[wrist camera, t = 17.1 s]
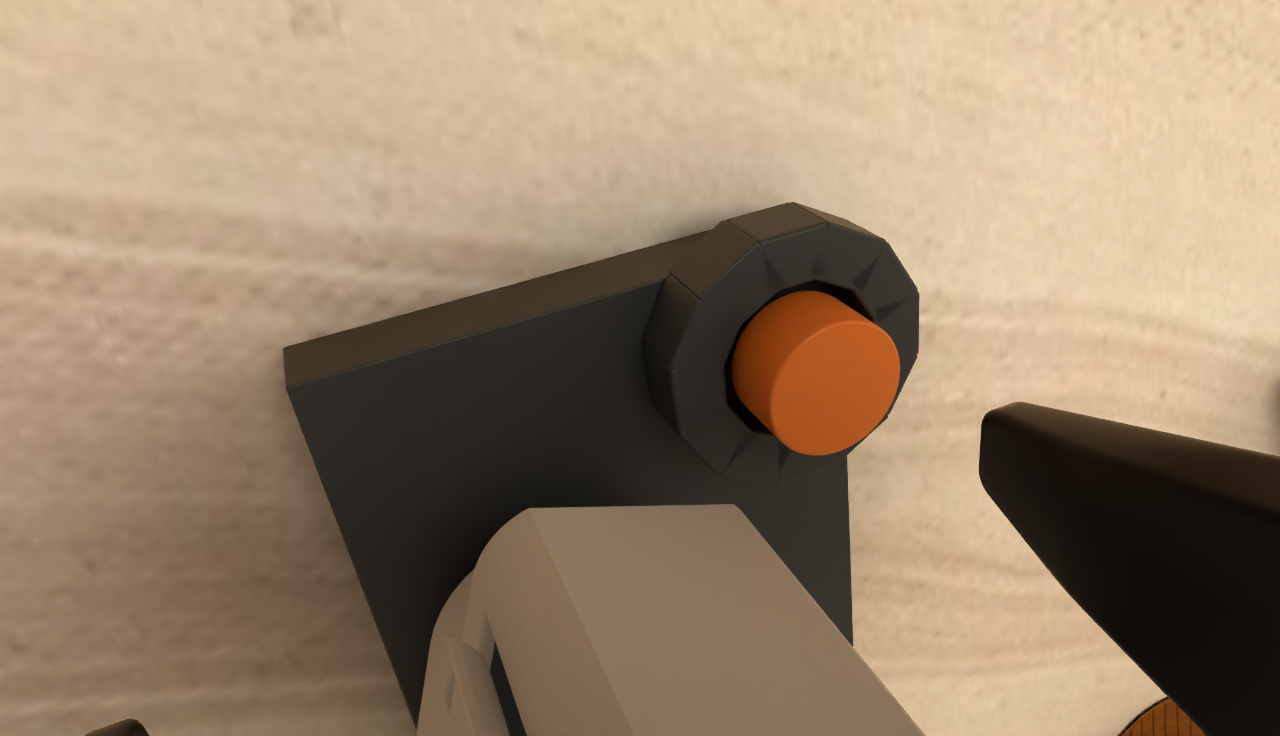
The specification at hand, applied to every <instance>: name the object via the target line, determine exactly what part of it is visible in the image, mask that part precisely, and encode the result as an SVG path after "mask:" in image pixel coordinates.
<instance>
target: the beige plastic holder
mask: <svg viewBox="0 0 1280 736" xmlns="http://www.w3.org/2000/svg"><path fill="white" fill-rule="evenodd" d="M495 642H496V645H497V648H498V651H499V654H500V657H501V660H502V663H503V666H504V669H505V672H506V675H507V678H508V681H509V684H510V687H511V690H512V693H513V696H514V699H515V702H516V705H517V708H518V711H519V714H520V717H521V720H522V723H523V726H524V729H525V732H526V735H527V736H925V735H924V733H923V732H922V731H921V730H920V728H919V727H918V726H917V725H916V724H915V722H914V721H913V720H912V719H911V717H910V716H909V715H908V714H907V713H906V711H905V710H904V709H903V708H902V706H901V705H900V704H899V703H898V702H897V700H896V699H895V698H894V697H893V695H892V694H891V693H890V692H889V691H888V689H887V688H886V687H885V686H884V684H883V683H882V682H881V681H880V680H879V678H878V677H877V676H876V675H875V674H874V672H873V671H872V670H871V669H870V667H869V666H868V665H867V664H866V663H865V661H864V660H863V659H862V658H861V656H860V655H859V654H858V653H857V652H856V650H855V649H854V648H853V647H852V645H851V644H850V643H849V642H848V641H847V639H846V638H845V637H844V636H843V634H842V633H841V632H840V631H839V630H838V628H837V627H836V626H835V625H834V623H833V622H832V621H831V620H830V619H829V617H828V616H827V615H826V614H825V612H824V611H823V610H822V609H821V608H820V606H819V605H818V604H817V603H816V602H815V600H814V599H813V598H812V597H811V595H810V594H809V593H808V592H807V591H806V589H805V588H804V587H803V586H802V584H801V583H800V582H799V581H798V580H797V578H796V577H795V576H794V575H793V573H792V572H791V571H790V570H789V569H788V567H787V566H786V565H785V564H784V562H783V561H782V560H781V559H780V558H779V556H778V555H777V554H776V553H775V551H774V550H773V549H772V548H771V547H770V545H769V544H768V543H767V542H766V541H765V539H764V538H763V537H762V536H761V534H760V533H759V532H758V531H757V530H756V528H755V527H754V526H753V525H752V523H751V522H750V521H749V520H748V519H747V517H746V516H745V515H744V514H743V512H742V511H741V510H740V509H739V508H738V507H736V506H735V505H734V504H714V505H663V506H612V507H561V508H528V509H526V510H524V511H523V512H521V513H519V514H518V515H516V516H515V517H514V518H512V519H511V520H510V521H508V522H507V523H506V524H505V525H504V526H503V527H502V528H500V529H499V530H498V532H497V533H496V534H495V535H494V536H493V537H492V538H491V540H490V541H489V542H488V544H487V545H486V547H485V548H484V550H483V552H482V553H481V555H480V557H479V559H478V562H477V564H476V567H475V569H474V570H473V571H472V572H471V573H469V574H468V575H467V576H466V577H465V578H464V579H463V580H462V582H461V583H460V584H459V585H458V587H457V588H456V589H455V590H454V591H453V593H452V594H451V595H450V597H449V599H448V600H447V602H446V604H445V605H444V607H443V608H442V610H441V612H440V615H439V617H438V619H437V622H436V624H435V626H434V630H433V634H432V638H431V642H430V649H429V655H428V662H427V668H426V675H425V681H424V688H423V694H422V701H421V707H420V714H419V720H418V727H417V733H416V736H510V734H509V731H508V728H507V724H506V721H505V718H504V715H503V712H502V708H501V705H500V702H499V699H498V696H497V692H496V689H495V686H494V683H493V680H492V676H491V673H490V667H491V662H492V656H493V651H494V645H495Z"/></svg>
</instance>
